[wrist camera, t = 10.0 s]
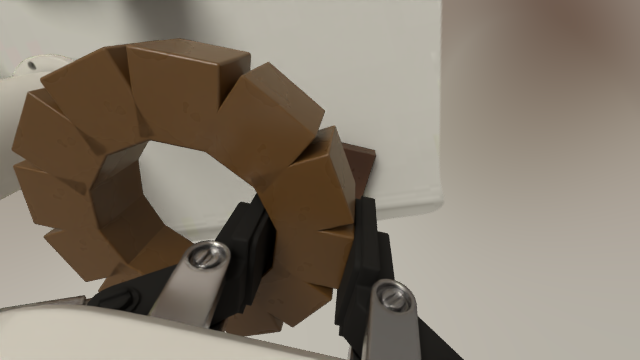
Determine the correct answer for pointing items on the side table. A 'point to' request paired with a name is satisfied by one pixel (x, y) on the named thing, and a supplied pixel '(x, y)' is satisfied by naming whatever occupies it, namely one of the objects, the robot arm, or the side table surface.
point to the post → (359, 165)
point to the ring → (195, 133)
